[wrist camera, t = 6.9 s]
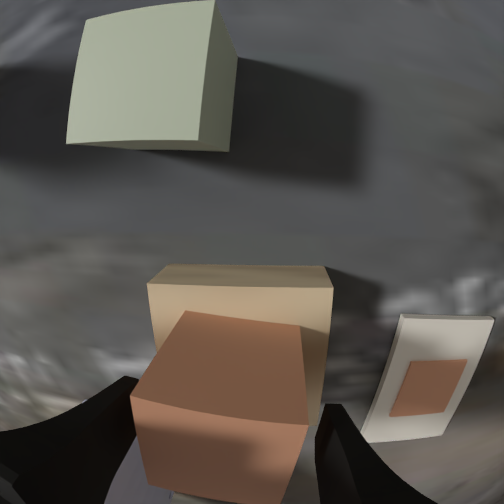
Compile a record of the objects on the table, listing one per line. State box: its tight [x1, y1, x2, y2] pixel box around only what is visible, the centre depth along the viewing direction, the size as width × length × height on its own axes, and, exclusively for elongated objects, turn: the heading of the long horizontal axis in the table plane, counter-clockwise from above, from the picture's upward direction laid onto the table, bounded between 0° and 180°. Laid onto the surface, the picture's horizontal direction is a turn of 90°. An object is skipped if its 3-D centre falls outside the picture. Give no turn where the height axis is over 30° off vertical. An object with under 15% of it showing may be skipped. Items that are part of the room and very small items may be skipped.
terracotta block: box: [130, 310, 309, 504], centre depth 11 cm, size 5×5×6 cm
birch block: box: [147, 264, 334, 426], centre depth 16 cm, size 8×8×4 cm
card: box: [360, 314, 494, 443], centre depth 17 cm, size 10×7×1 cm
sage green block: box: [66, 0, 238, 152], centre depth 11 cm, size 5×5×6 cm
